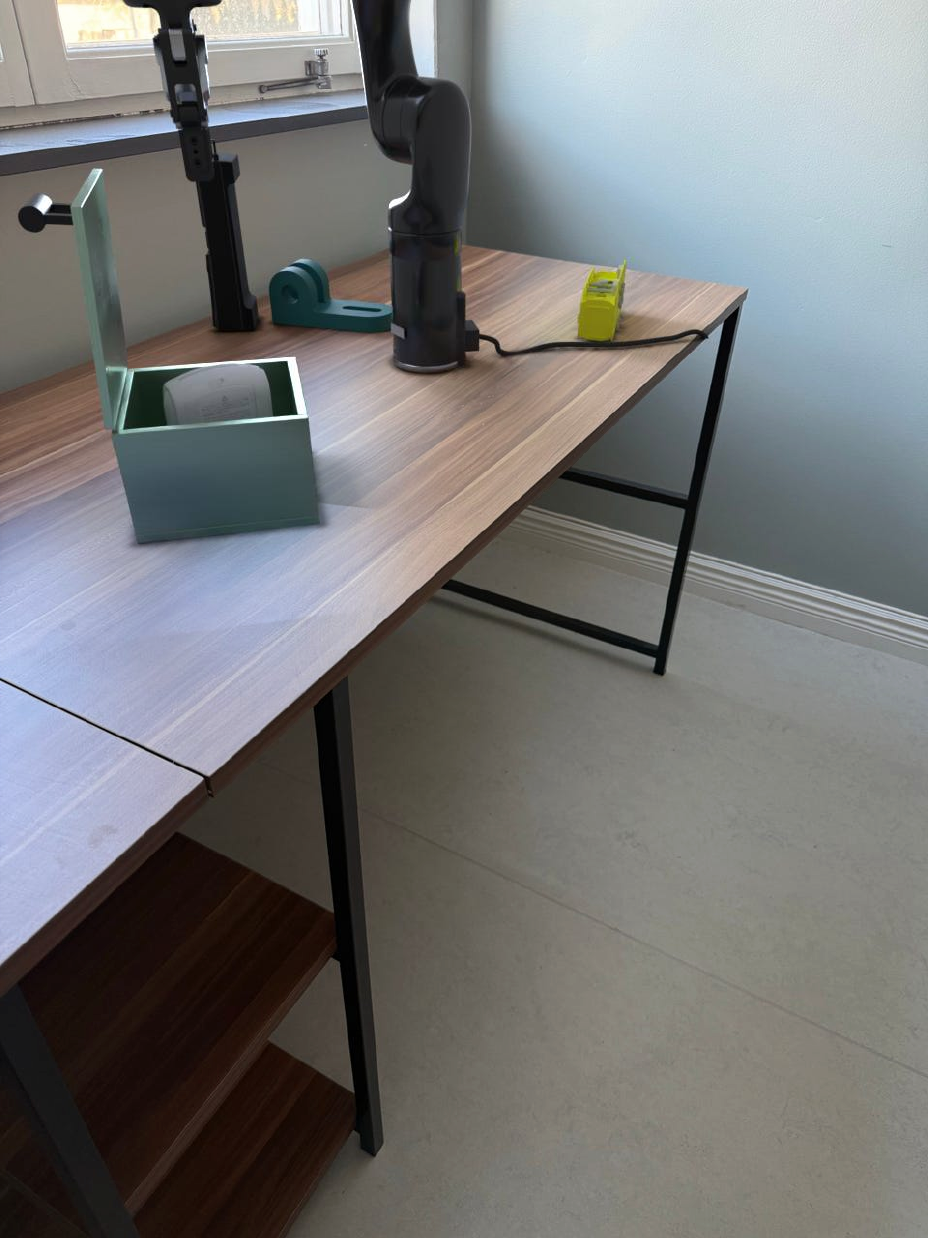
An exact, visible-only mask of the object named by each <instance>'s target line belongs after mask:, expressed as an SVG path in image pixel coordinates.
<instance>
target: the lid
mask: <svg viewBox="0 0 928 1238" xmlns="http://www.w3.org/2000/svg"><path fill="white" fill-rule="evenodd" d="M106 193H107V192H106V186H105V177H104V171H103V169H102V168H92V170H91V171H90V172H89V175H88V177H87V178H86V180H85V181H84V183H83V184H82V186H81V188H80V190H79V192H78V193H77V195H76V197H75V198H74V200H73V201H72V203H67V202H66V203H64V202H53V201H52V199H51V198H50V197H49V196H47V195H46V194H43V193H38V192H37V193H33V194H31V195H30V196H29V197H28V199H27V200H26V201H25V203H24V204H23V205H22V206H21V208H20V209H19V210H18V213H17V220H18V223H19V225H20V226H21V227H22V229H24V231H27V232H29V233H32V234H37V233H40V232H42V231H43V230H44V229H45V227H46V226H47V225H55V226H56V225H57V226H58V225H59V226H73V232H74V239H75V246H76V252H77V258H78V265H79V271H80V278H81V285H82V290H83V297H84V304H85V311H86V317H87V322H88V324H87V325H88V330H89V336H90V343H91V349H92V356H93V362H94V369H95V376H96V382H97V388H98V395H99V401H100V407H101V414H102V420H103V427H104V430H107V431H108V430H111V431H112V429H115V425H116V420H117V415H118V410H119V406H120V401H121V396H122V391H123V387H124V382H125V377H126V372H127V369H129V368H128V366H129V361H128V360H129V359H128V353H127V351H128V350H127V345H126V337H125V330H124V323H123V321H124V320H123V313H122V308H121V298H120V293H119V292H120V291H119V284H118V277H117V270H116V269H117V268H116V261H115V253H114V246H113V240H112V238H113V237H112V230H111V222H110V217H109V216H110V215H109V209H108V202H107V201H108V199H107V194H106Z"/></svg>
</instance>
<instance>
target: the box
mask: <svg viewBox="0 0 928 1238" xmlns="http://www.w3.org/2000/svg"><path fill="white" fill-rule="evenodd" d="M226 363H242V364H250V365H255V366H259V368H260V369H263V370H264V372H265V374H266V377H267V380H268V384H269V388H270V395H271V403H272V412H273V417H268V418H256V419H244V420H233V421H221V422H209V423H197V424H185V425H174V426H168V425H167V420H166V415H165V410H164V397H163V386H164V384H165V383H167V382H169V381H170V380H172V379H174V378H176V377H178V376H180V375H182V374H184V373H187V372H189V371H192V370H195V369H198V368H202V367H206V366H210V365H216V364H226ZM300 376H301V375H300V372H299V368H298V362H297V358H296V356H289V357H276V358H275V357H274V358H263V359H262V358H261V359H250V360H248V359H246V360H236V361H235V360H234V361H221V362H208V363H207V362H206V363H196V364H195V363H193V364H180V365H167V366H166V365H165V366H153V367H140V368H139V367H138V368H127V372H126V377H125V382H124V387H123V391H122V396H121V401H120V406H119V410H118V415H117V420H116V425H115V429H111V434H110V436H111V440H112V444H113V448H114V453H115V456H116V461H117V464H118V468H119V472H120V476H121V480H122V485H123V489H124V494H125V496H126V501H127V505H128V509H129V512H130V517H131V521H132V525H133V529H134V533H135V537H136V540H137V544H146V543H156V542H165V541H175V540H185V539H193V538H203V537H212V536H222V535H229V534H231V535H232V534H238V533H239V534H240V533H249V532H258V531H267V530H277V529H286V528H295V527H305V526H313V525H314V526H315V525H320V515H319V514H320V513H319V504H318V495H317V486H316V485H317V484H316V477H315V476H316V475H315V466H314V456H313V448H312V447H313V446H312V437H311V428H310V418H309V414H308V409H307V405H306V399H305V396H304V395H305V394H304V391H303V386H302V382H301V377H300Z"/></svg>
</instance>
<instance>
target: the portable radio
mask: <svg viewBox="0 0 928 1238" xmlns="http://www.w3.org/2000/svg"><path fill="white" fill-rule="evenodd" d="M216 141H217V139H214V138H213V139H212V138H211V142H212V150H213V160H212V164H213V170H214V178H213V179H212V180H211V181H200V182H195V186H196V193H197V199H198V205H199V211H200V212H199V213H200V220H201V226H202V227H203V228H204V237H205V242H206V249H207V252H206V254H205V256H204V257H205V265H206V266H205V267H206V273H207V280H208V287H209V296H210V305H211V317H212V318H211V319H212V326H213V328H216V331H217V332H239V331H241V332H243V331H251V330H256V327H257V325H258V320H259V317H260V316H259V308H258V299H257V296H256V295H254V294H252V293H251V291H250V286H249V280H248V273H247V266H246V259H245V249H244V242H243V237H242V236H243V235H242V228H241V221H240V214H239V206H238V201H237V193H236V192H237V191H236V185H235V183H236V182H237V180H238V179H239V177H240V176H241V170H240V162H239V154H237V153H233V152H232V153H231V152H218V151H217V146H216Z"/></svg>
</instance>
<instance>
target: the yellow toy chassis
mask: <svg viewBox="0 0 928 1238" xmlns="http://www.w3.org/2000/svg"><path fill="white" fill-rule="evenodd" d="M626 270H627V259H624V260H623V264H618V267H617V270H616V271H612V270H611V271H610V270H599V271H597V272H595V266H592V267H591V269H590V271H589V274H588V277H587V279H586V281H585V284H584V286H583V288H582V292H581V298H580V303H579V304H580V305H579V313H578V315H577V324H578V327H577V328H578V329H577V339H580V337H581V338H583V339H584V340H588V341H589V340H590V341H592V342H609V341H610V342H613V340H614V335H615V332H616V331H620V325H621V324H622V316H621V315H620V314H621V311H622V308H623V305H624V304H623V303H624V295H625V289H626V282H625V279H626Z"/></svg>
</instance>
